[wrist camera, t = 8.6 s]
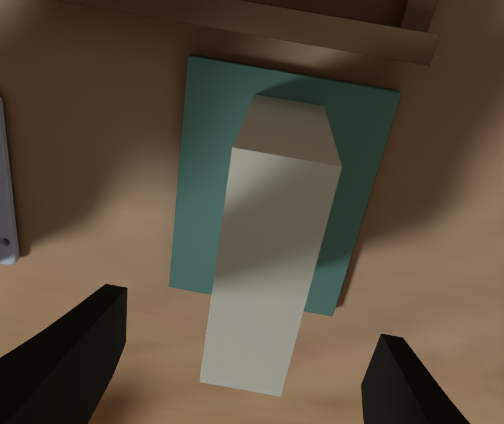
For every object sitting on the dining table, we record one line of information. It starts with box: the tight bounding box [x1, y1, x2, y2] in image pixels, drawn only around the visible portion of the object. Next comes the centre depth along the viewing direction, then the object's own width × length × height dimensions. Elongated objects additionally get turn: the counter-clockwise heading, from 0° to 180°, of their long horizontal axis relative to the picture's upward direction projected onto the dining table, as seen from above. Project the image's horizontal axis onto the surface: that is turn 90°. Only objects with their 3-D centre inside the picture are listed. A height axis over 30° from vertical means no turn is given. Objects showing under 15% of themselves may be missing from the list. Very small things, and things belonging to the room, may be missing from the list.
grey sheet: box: [200, 94, 342, 397], centre depth 17 cm, size 9×3×8 cm, turn 171°
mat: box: [169, 54, 401, 316], centre depth 21 cm, size 12×9×1 cm
